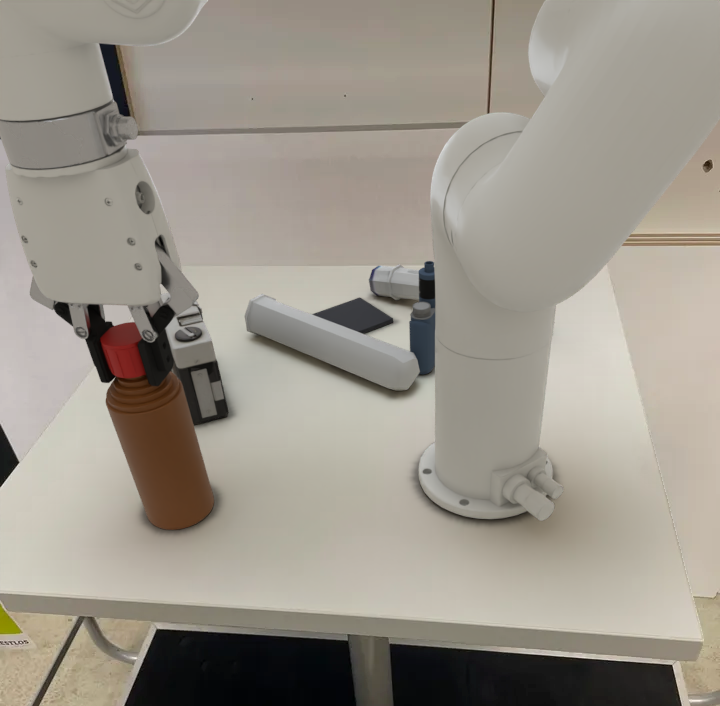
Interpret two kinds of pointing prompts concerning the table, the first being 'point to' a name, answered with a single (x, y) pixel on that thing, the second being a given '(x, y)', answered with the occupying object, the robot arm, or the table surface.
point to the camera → (196, 364)
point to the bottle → (161, 449)
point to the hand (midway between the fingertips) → (137, 373)
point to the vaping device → (424, 320)
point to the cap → (123, 350)
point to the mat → (356, 316)
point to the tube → (332, 343)
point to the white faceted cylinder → (395, 282)
